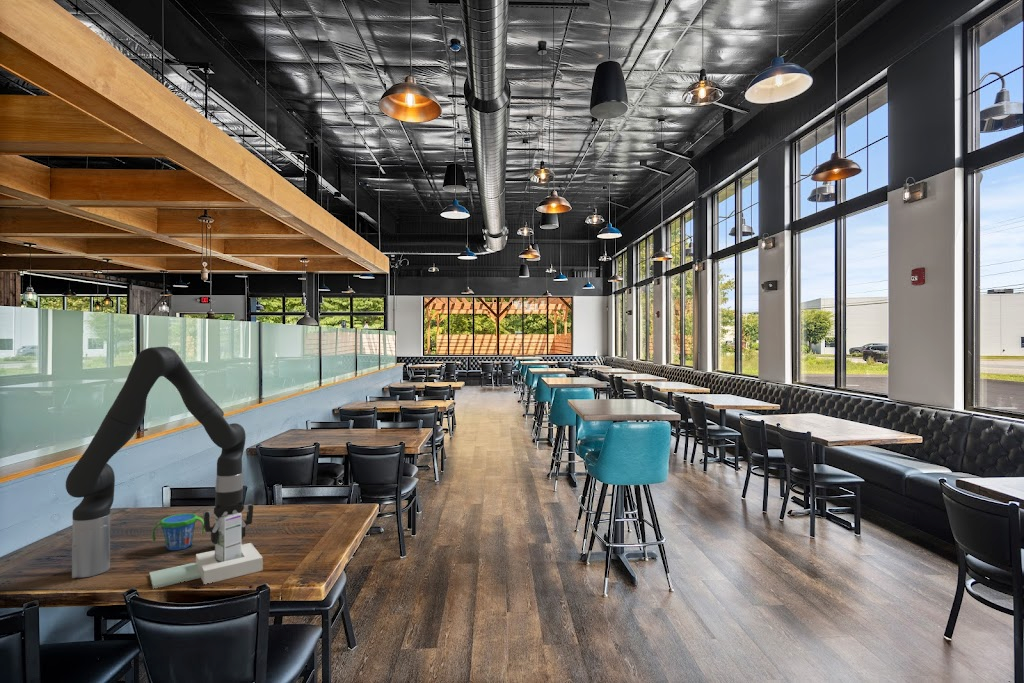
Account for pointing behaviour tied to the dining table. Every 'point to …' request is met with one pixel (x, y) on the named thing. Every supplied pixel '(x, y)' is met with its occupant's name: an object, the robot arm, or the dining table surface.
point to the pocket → (229, 565)
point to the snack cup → (178, 530)
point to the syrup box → (228, 538)
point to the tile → (174, 575)
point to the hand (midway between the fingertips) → (228, 540)
